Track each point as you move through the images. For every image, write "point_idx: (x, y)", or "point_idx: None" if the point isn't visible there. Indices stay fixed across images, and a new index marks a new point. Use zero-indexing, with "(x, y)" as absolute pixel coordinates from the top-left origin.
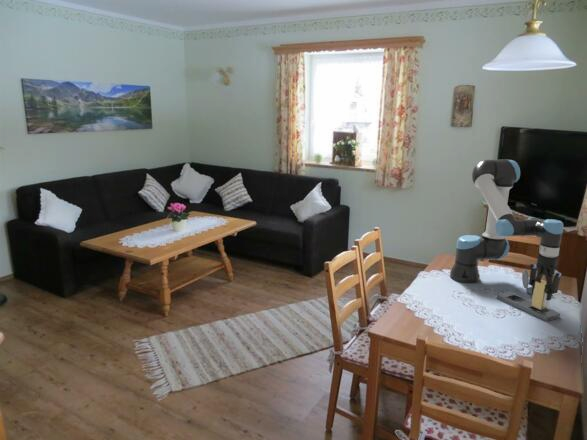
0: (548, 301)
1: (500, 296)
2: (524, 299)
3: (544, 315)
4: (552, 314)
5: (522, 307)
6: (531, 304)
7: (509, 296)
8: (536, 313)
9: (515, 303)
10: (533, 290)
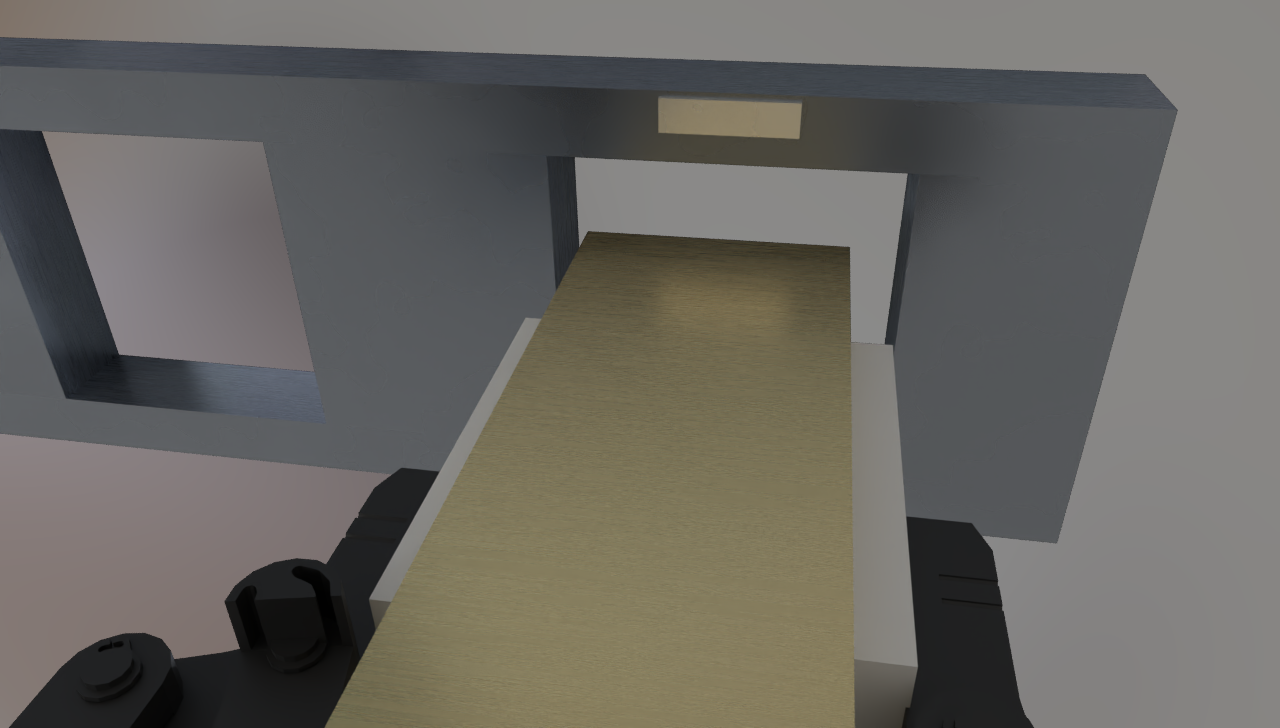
0: (894, 437)
1: (25, 431)
2: (218, 139)
3: (974, 511)
4: (1061, 339)
5: None
6: (490, 263)
7: (28, 277)
8: None
9: (345, 464)
10: None
